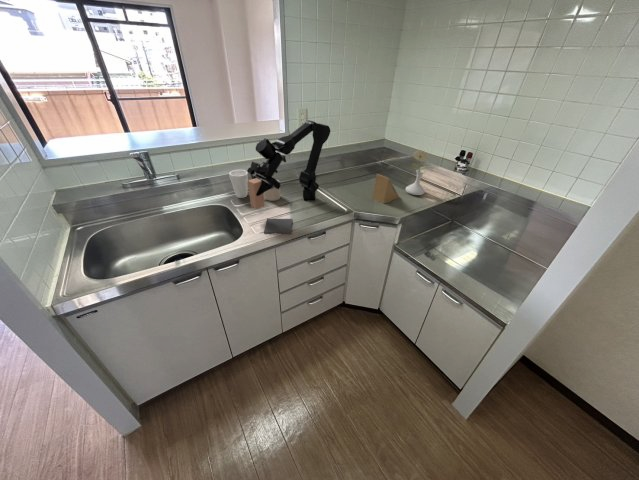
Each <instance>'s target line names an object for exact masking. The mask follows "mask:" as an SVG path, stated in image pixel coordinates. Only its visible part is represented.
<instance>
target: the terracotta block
mask: <svg viewBox="0 0 639 480" xmlns="http://www.w3.org/2000/svg"><path fill="white" fill-rule="evenodd" d="M261 180H262V179H260V180H259V179H257V178H255V179H252V178H251V179H248V193H249V194H248V195H249V202H250V207H252V208H254V209H256V210H258V209H261V208H263V207H265V194H263V193H262V194H261V195H259V196H257V195H256V194H257V191H258V190H259V188H260V186H261Z"/></svg>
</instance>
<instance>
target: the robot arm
mask: <svg viewBox="0 0 639 480" xmlns="http://www.w3.org/2000/svg"><path fill="white" fill-rule="evenodd" d="M311 133H312V139H313V143H312V145H311V149H310V152H309V153H310V154H309V157H308V161H307V164H306V167H305V170H303V171H300V174H299V177H298V179H299V182H298V183H299V184H300V186H301V188H303V189H302V198H303V200H304V201H305V202H306V201H311V202H314V201H316V192H317V191H318V190H319V188H320V185H319V184H318V183H317V182H316V181H317V176H316V170H317V166H318V164H319V163H318V162H319V160H320V155H321V153H322V152H321V151H322V149H323V146H324V144H325V143H326V142H327V141H328V139H329V137H330V135H331V128H330V126H329V125H327V124H323V123H319V122H315V121H314V120H308V119H307V120H306V121H305V122H304V123H303V124H302V125H300V126H299V127H298V128H297V129H295V130H294V131H293V132H292V133H290V134H289V135H286V136H285V135H284V136H282V137H279V138H278V139H277V140H275V141H274V142H271V141H270V140H269V139H268V138H263V140H260V141H259V142H258V143H256V146H255V152H257V153H258V154H259V155H260V156H262V157H263V158H264V159H265V160H266V161H262V162H260V163H258V162H255V161H251V163H250V167H248V169H247V170H246V171H247V172H248V174H250V176H251V179H255V178H257V179H259V180H261V186H260V188H259V190H258V191H257V194H256V195H257V196H259V195H261V194H262V193H264V192H266V191H267V190H269V189H271V188H272V189H273V186H274V187H275V188H276V189H278V190H279V188H280V189H281V181H280V182H278V181H277V180H278V179H276V178H275V177H273V176H274V175H275V173H276V174H277V173H278V168H279V166H280V165H281V164H282V162H284V163H287V159H286V156H287V155H289V154H291V153H292V152H293V151H294V149H295V147H296V145H297V144H298V143H299V142H300V141H302V140H303V139H304V138H306V137H307V136H308V135H309V134H311Z"/></svg>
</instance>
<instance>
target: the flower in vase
mask: <svg viewBox="0 0 639 480" xmlns="http://www.w3.org/2000/svg"><path fill="white" fill-rule="evenodd" d="M413 157H414V159H415V160H417V163H412V164H411V166H412V167H414V168H417V169H416V170H415V171H416V179H415V182H413V183H411V184H409V185H407V186H406V187H405V191H406V193H408V194H410V195H413V196H422V195H424V194H425V193H426V191H425V189H424V187H423V186H422V185H421V183H420V181H421V178H422V176H423V175H424V174H425V172H426V171H425V170H423V169H425V168H427V165H425V166H421V167H419V162H425V161H427V160H428V158H429V156H428V154H427V152H425V151H424V150H422V149H421V150H420V149H418V150H416V151H415V152H414V153H413Z"/></svg>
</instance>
